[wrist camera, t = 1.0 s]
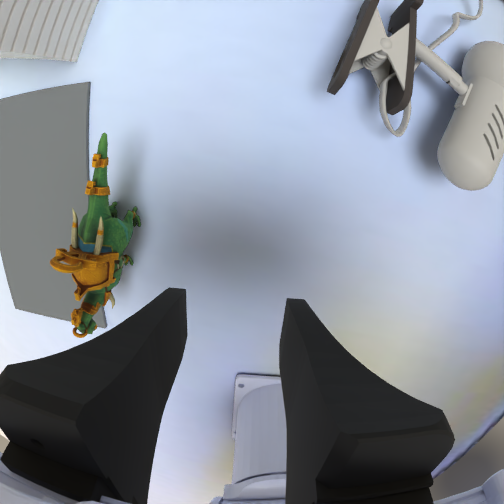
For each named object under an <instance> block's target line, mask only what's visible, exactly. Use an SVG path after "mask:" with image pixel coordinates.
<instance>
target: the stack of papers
mask: <svg viewBox="0 0 504 504" xmlns="http://www.w3.org/2000/svg"><path fill="white" fill-rule="evenodd" d="M98 1H99V0H0V58H18V59H43V60H58V61H70V62H77V60H78V57H79V54H80V51H81V48H82V45H83V41H84V39H85V36H86V33H87V30H88V27H89V24H90V22H91V19H92V16H93V14H94V11H95V9H96V6H97V4H98Z"/></svg>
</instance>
